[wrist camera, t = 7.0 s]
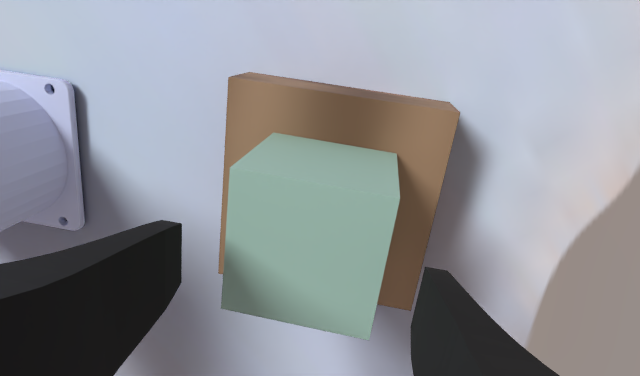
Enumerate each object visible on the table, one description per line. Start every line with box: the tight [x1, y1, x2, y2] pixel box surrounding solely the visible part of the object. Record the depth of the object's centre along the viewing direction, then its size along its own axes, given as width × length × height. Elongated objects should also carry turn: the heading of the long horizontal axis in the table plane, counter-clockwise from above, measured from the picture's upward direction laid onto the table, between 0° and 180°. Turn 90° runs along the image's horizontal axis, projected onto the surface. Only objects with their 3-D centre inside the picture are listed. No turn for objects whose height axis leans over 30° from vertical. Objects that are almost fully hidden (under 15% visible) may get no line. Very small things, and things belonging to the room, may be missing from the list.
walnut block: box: [218, 72, 460, 311], centre depth 19 cm, size 9×9×3 cm
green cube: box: [221, 133, 400, 340], centre depth 15 cm, size 5×5×5 cm
